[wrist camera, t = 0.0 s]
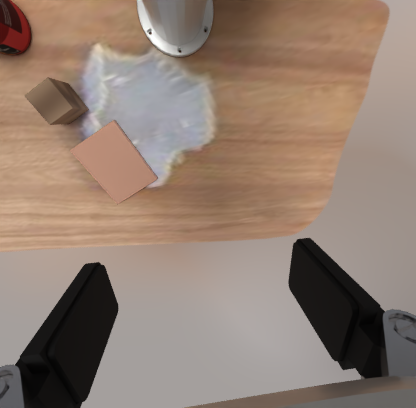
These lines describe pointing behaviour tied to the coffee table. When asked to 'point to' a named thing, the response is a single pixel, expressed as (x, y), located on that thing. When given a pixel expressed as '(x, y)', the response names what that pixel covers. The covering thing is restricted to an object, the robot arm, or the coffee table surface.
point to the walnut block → (56, 102)
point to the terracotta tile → (114, 162)
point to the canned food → (13, 29)
